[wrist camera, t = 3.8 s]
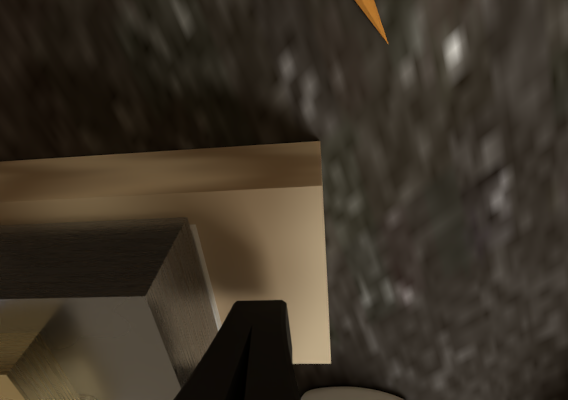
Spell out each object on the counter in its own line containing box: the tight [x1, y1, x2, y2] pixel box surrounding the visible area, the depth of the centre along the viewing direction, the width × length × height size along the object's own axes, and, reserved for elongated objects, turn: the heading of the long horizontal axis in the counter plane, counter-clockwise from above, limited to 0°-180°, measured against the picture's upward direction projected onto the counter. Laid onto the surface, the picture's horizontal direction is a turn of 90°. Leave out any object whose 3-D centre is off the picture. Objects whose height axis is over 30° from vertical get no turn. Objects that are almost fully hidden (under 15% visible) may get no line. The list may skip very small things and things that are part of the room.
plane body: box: [0, 141, 331, 364], centre depth 13 cm, size 20×7×3 cm, turn 95°
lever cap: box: [0, 217, 218, 400], centre depth 10 cm, size 7×6×4 cm
